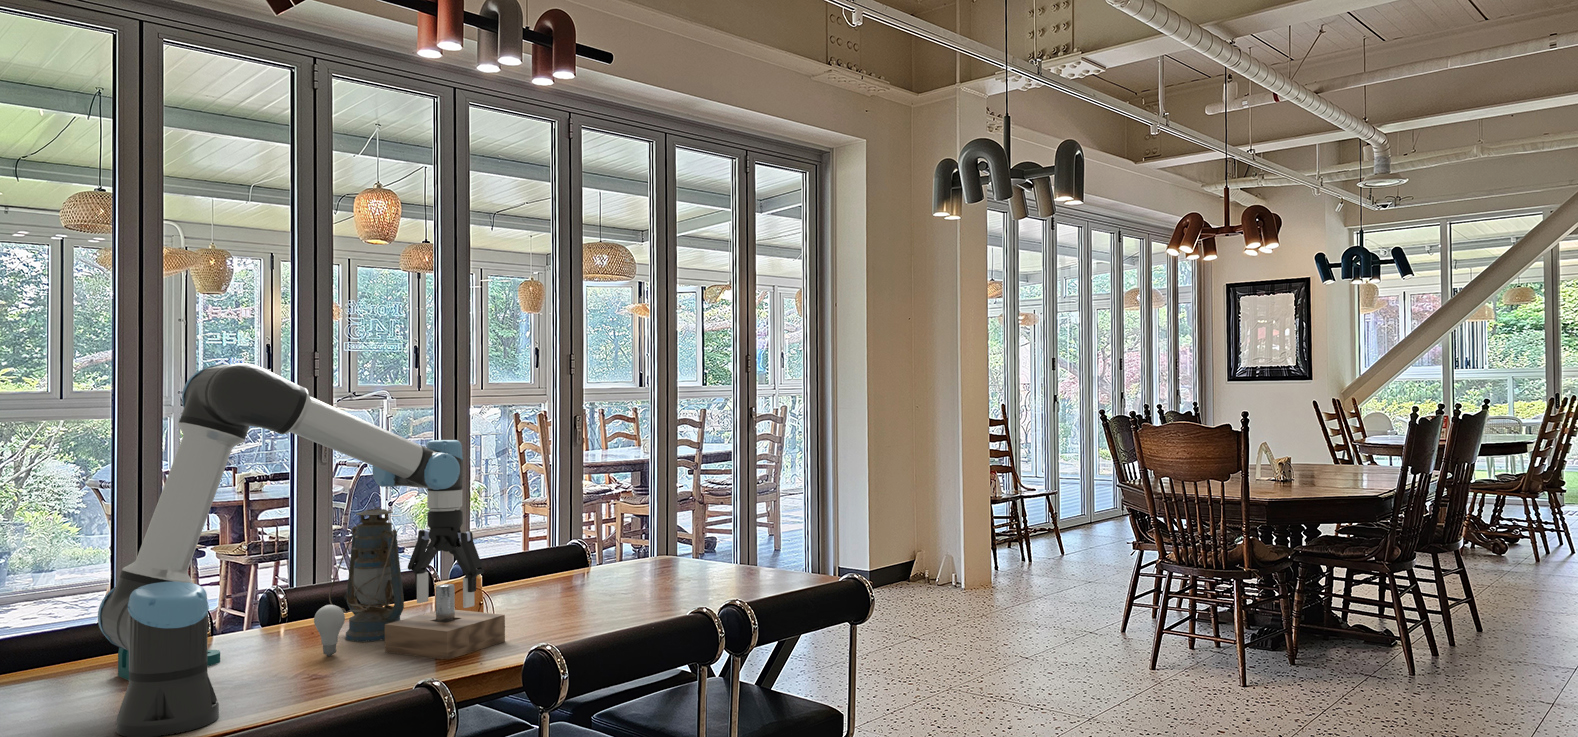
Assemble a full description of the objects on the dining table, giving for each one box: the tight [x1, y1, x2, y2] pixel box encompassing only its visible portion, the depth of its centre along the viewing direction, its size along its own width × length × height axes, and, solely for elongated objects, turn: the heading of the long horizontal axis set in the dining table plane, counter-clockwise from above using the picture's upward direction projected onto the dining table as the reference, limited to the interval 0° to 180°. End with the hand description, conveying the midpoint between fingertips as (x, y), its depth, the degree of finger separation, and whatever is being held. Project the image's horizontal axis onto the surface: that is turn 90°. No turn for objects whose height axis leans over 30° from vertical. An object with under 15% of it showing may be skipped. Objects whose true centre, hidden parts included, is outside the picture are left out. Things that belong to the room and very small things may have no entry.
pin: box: [435, 583, 456, 623], centre depth 232 cm, size 4×4×12 cm
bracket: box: [117, 647, 221, 682], centre depth 216 cm, size 18×7×8 cm, turn 140°
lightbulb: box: [313, 604, 346, 657], centre depth 225 cm, size 6×6×11 cm
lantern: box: [328, 506, 405, 643], centre depth 244 cm, size 19×14×30 cm
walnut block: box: [384, 609, 506, 660], centre depth 232 cm, size 18×18×6 cm
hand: (445, 604), depth 232 cm, fingers open, 13 cm apart
